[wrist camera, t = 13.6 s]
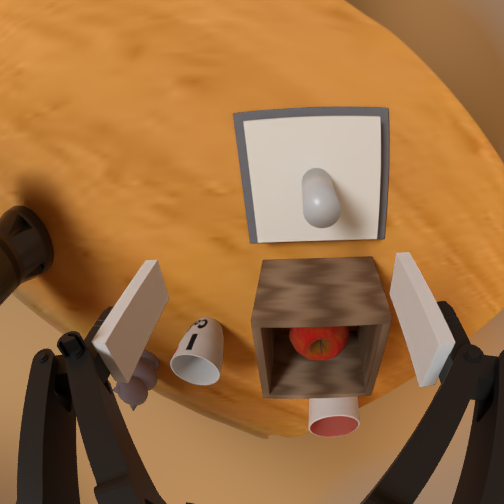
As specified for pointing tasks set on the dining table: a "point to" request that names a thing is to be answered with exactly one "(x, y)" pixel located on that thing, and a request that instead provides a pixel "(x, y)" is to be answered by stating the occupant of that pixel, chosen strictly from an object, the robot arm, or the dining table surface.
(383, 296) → the box
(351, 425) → the cup
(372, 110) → the mat
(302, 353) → the apple
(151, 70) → the dining table surface
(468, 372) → the robot arm
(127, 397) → the cat figurine
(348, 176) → the lid
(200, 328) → the cup
